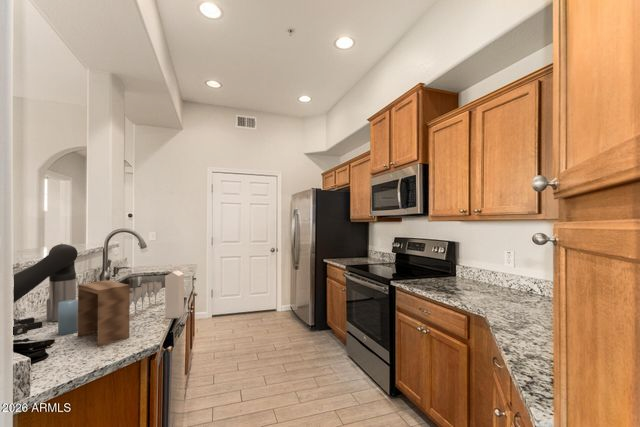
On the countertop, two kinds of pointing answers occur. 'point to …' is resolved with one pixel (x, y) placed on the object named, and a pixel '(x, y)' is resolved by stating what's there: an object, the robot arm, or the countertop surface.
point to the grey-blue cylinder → (67, 317)
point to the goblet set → (141, 292)
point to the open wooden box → (104, 310)
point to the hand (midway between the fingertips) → (38, 322)
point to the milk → (174, 294)
